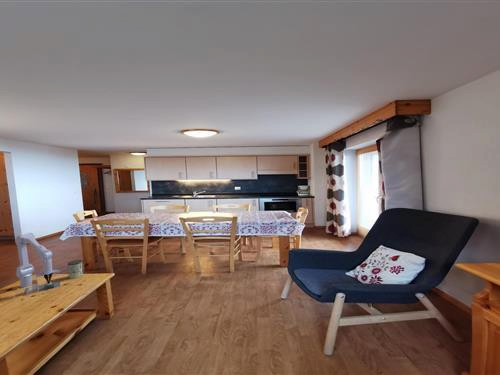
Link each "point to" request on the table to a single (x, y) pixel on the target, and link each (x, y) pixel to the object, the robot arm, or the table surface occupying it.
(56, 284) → the activity board
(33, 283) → the marker
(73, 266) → the coffee can
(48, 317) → the table surface
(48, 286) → the button housing
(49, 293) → the table surface
